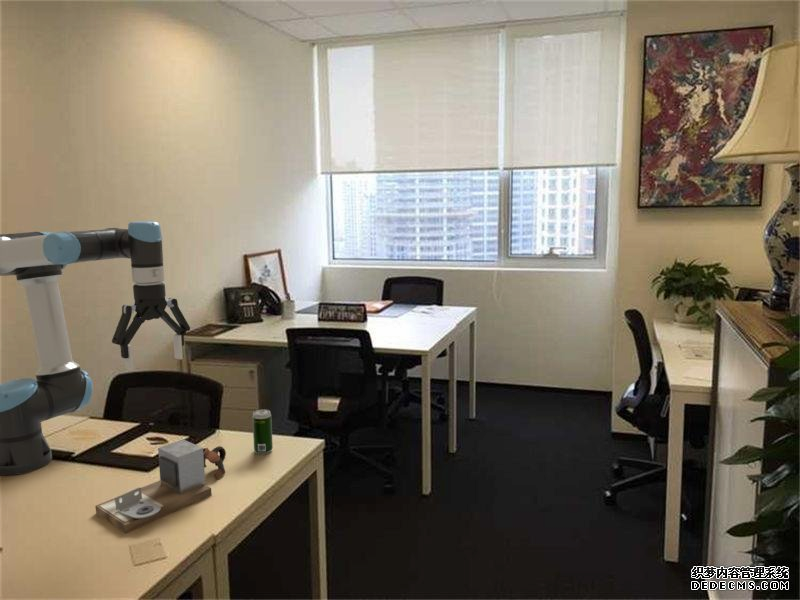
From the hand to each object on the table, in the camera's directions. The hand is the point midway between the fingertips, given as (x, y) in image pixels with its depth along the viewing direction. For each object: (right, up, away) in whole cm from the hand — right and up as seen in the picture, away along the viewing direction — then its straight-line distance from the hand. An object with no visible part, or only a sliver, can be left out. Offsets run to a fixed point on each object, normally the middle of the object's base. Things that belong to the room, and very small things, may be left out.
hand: (155, 364), depth 160 cm
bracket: (+3, -33, -15) cm, 36 cm away
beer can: (+23, -28, +23) cm, 43 cm away
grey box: (+8, -31, -3) cm, 32 cm away
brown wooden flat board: (+3, -34, -8) cm, 35 cm away
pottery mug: (+11, -31, +9) cm, 34 cm away
